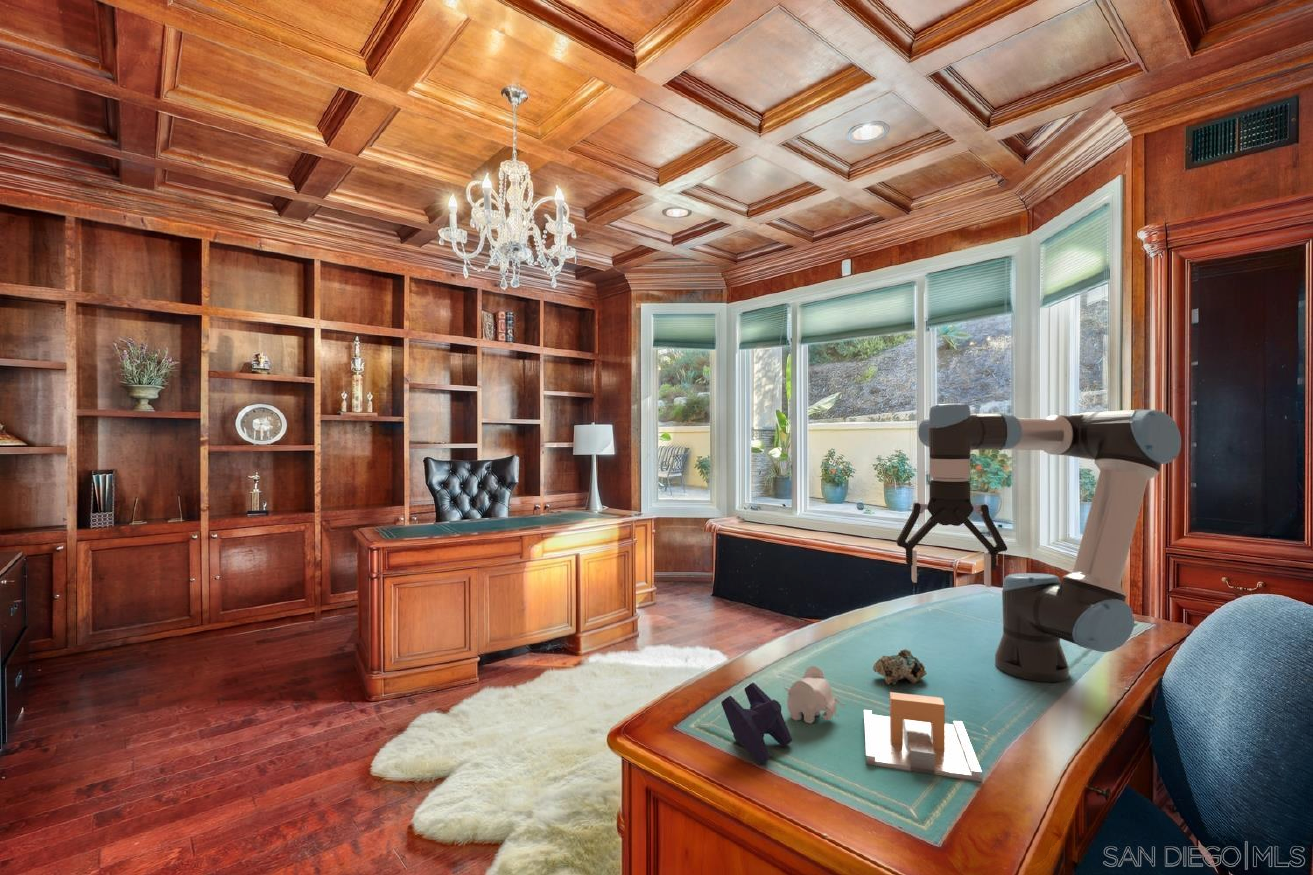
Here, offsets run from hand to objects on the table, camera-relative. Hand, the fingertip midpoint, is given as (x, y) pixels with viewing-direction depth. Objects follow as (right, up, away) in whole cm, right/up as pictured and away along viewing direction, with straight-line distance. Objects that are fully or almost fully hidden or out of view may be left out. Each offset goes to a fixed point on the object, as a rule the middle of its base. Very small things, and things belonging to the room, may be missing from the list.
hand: (950, 583), depth 123 cm
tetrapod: (-42, -27, -13) cm, 51 cm away
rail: (-12, -27, -13) cm, 32 cm away
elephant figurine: (-29, -27, -1) cm, 39 cm away
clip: (-12, -26, -13) cm, 31 cm away
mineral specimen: (-3, -27, +17) cm, 32 cm away
